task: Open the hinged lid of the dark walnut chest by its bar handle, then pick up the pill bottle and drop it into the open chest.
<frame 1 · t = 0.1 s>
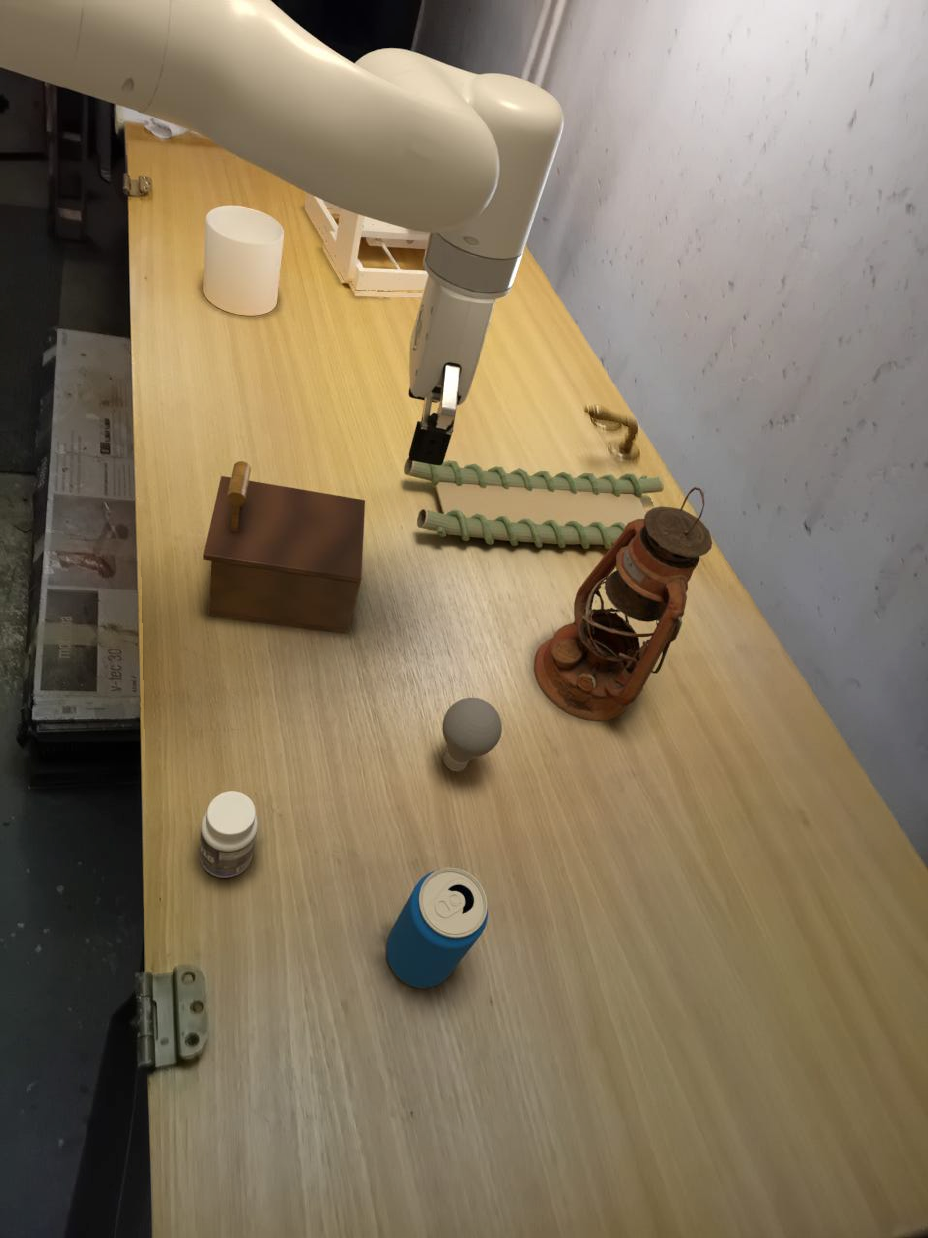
hand: (424, 428, 78), 27 cm above the workbench, tool pointing down, fingers open, 9 cm apart
chest: (284, 584, 97), on the workbench
3d printer: (405, 254, 160), on the workbench
light bulb: (453, 763, 88), on the workbench
lantern: (583, 677, 100), on the workbench
beverage can: (419, 953, 74), on the workbench
stretcher: (542, 519, 118), on the workbench
cup: (240, 297, 134), on the workbench
lid: (292, 508, 88), point 12 cm above the workbench, hinge at 0.0°
pill bottle: (226, 855, 75), on the workbench
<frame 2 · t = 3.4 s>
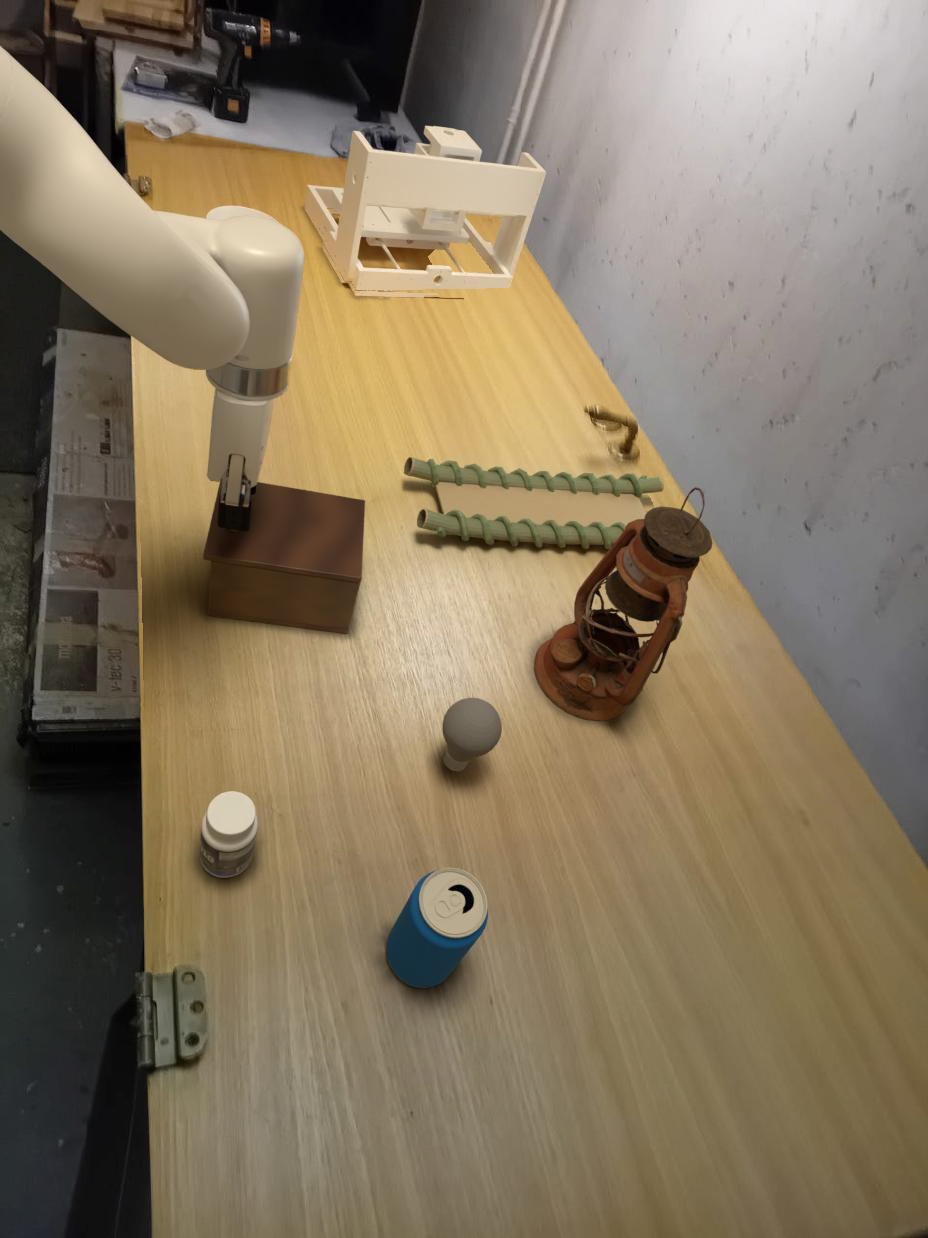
hand: (237, 507, 88), 11 cm above the workbench, tool pointing down, fingers closed on lid, 5 cm apart
lid: (292, 508, 88), point 12 cm above the workbench, hinge at 0.0°, touching gripper
everything else where it was.
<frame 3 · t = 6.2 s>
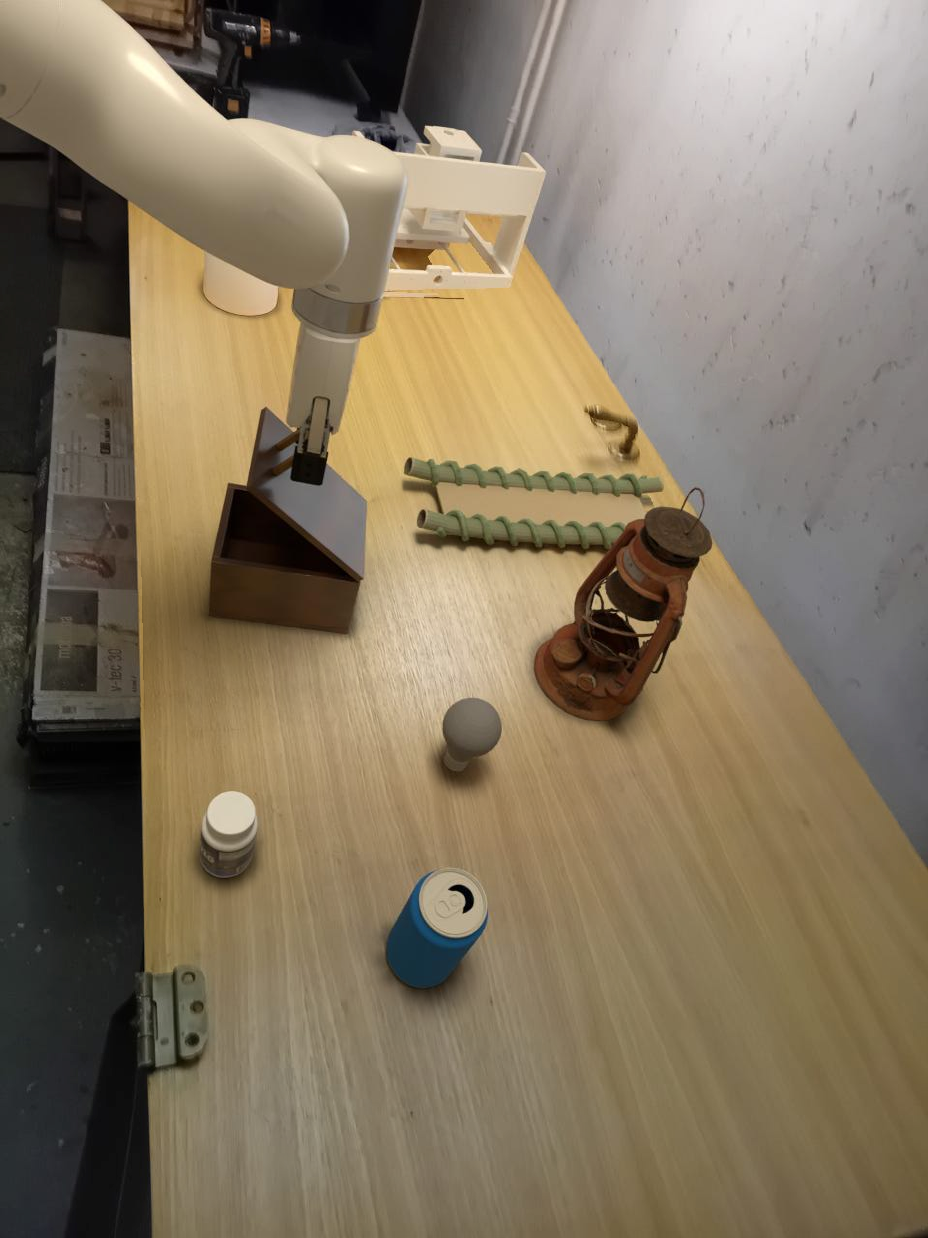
hand: (308, 461, 83), 19 cm above the workbench, tool pointing down, fingers closed on lid, 5 cm apart
lid: (333, 482, 86), point 17 cm above the workbench, hinge at 40.0°, touching gripper
everything else where it was.
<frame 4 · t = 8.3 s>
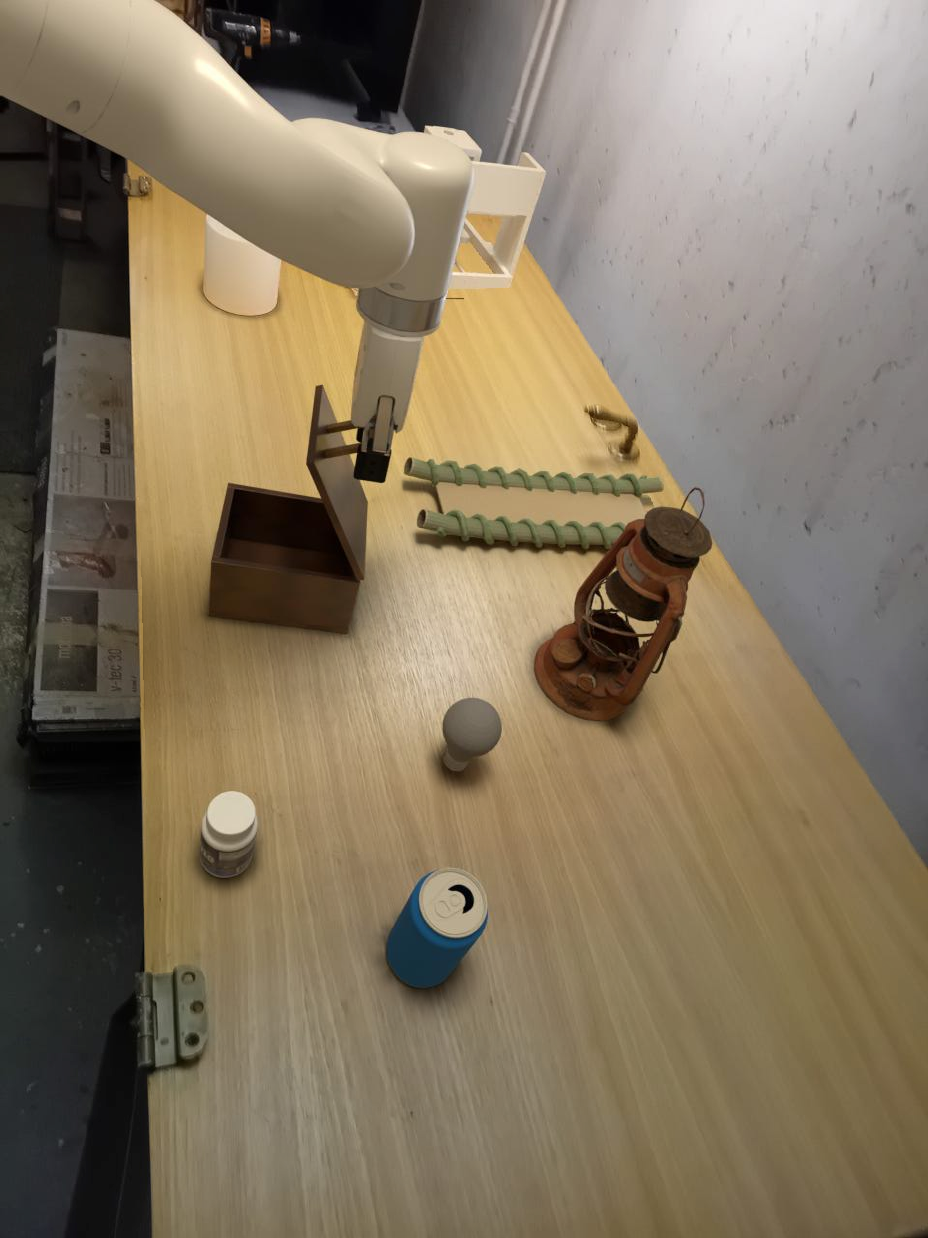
hand: (370, 459, 84), 21 cm above the workbench, tool pointing down, fingers closed on lid, 5 cm apart
lid: (367, 480, 86), point 18 cm above the workbench, hinge at 63.6°, touching gripper
everything else where it was.
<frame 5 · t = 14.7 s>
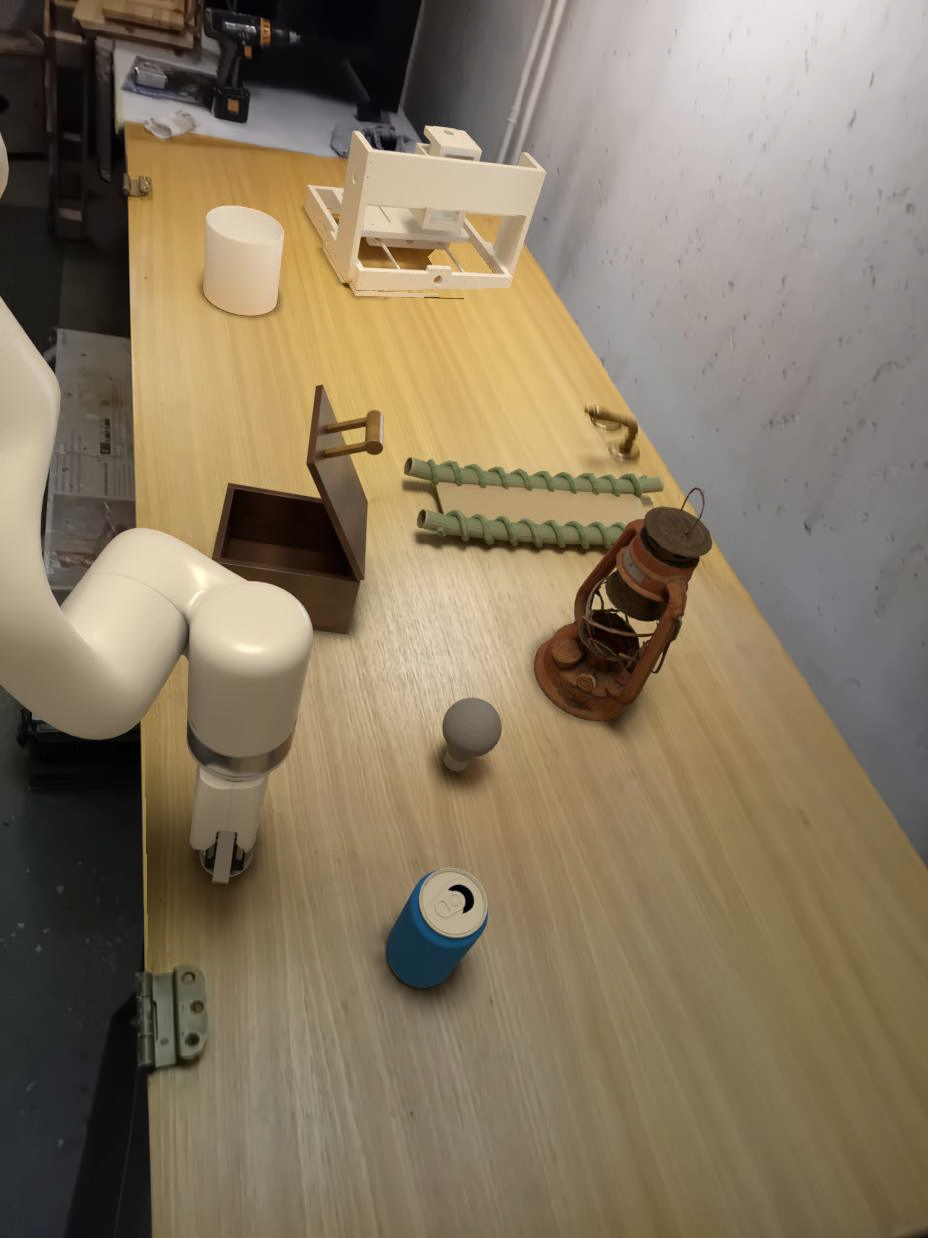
hand: (228, 836, 72), 4 cm above the workbench, tool pointing down, fingers closed on pill bottle, 4 cm apart
lid: (367, 480, 86), point 18 cm above the workbench, hinge at 63.6°
pill bottle: (226, 855, 75), on the workbench, touching gripper
everything else where it was.
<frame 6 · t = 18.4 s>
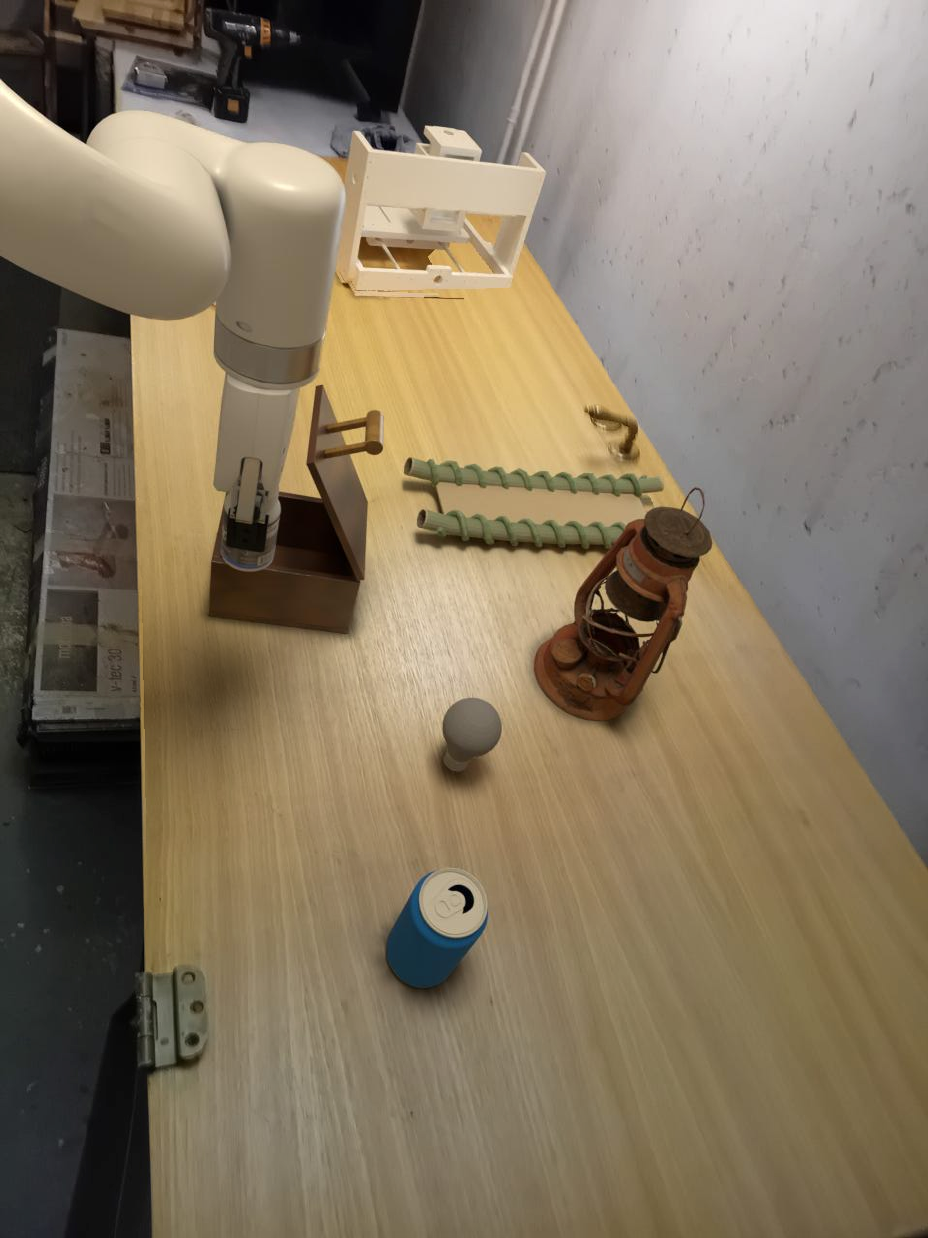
hand: (250, 523, 71), 22 cm above the workbench, tool pointing down, fingers closed on pill bottle, 4 cm apart
pill bottle: (247, 555, 74), point 18 cm above the workbench, touching gripper
everything else where it was.
when the fingers open (13 cm above the workbench, at t = 22.4 s): pill bottle drops 5 cm, resting on chest.
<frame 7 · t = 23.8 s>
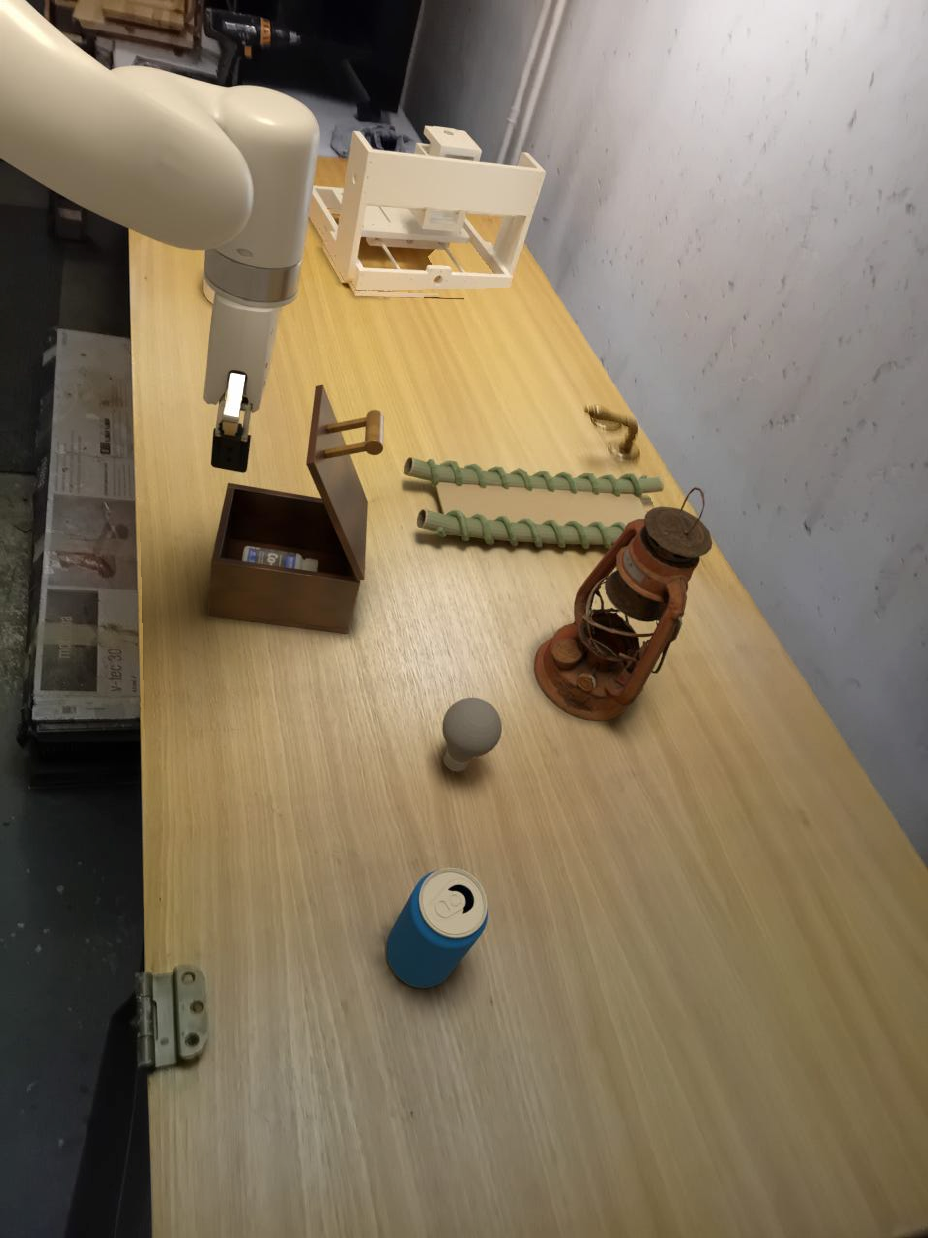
hand: (235, 435, 78), 22 cm above the workbench, tool pointing down, fingers open, 9 cm apart
pill bottle: (239, 565, 93), point 3 cm above the workbench, touching chest
everything else where it was.
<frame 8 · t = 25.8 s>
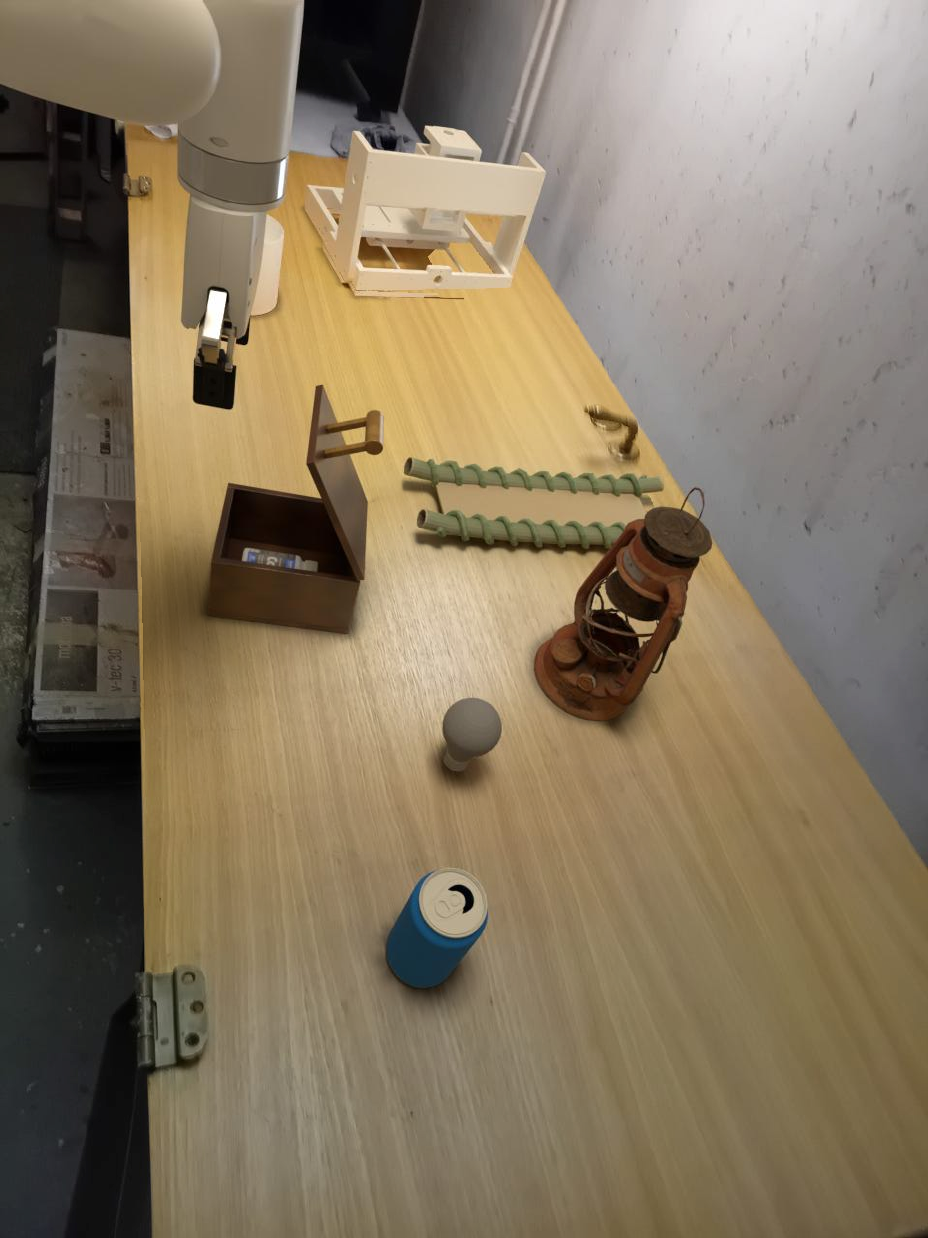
hand: (221, 371, 71), 30 cm above the workbench, tool pointing down, fingers open, 9 cm apart
nothing on the workbench moved.
at the end: lid at +64° (first picture: +0°); pill bottle inside the target area in the chest (5.4 cm from its centre), point 3.1 cm above the chest's base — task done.
